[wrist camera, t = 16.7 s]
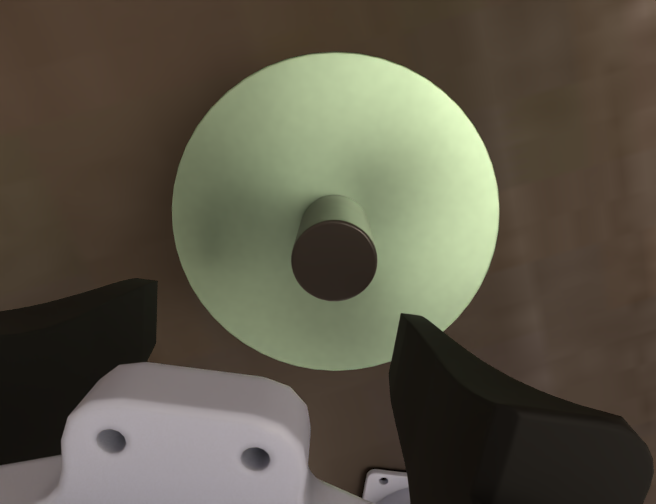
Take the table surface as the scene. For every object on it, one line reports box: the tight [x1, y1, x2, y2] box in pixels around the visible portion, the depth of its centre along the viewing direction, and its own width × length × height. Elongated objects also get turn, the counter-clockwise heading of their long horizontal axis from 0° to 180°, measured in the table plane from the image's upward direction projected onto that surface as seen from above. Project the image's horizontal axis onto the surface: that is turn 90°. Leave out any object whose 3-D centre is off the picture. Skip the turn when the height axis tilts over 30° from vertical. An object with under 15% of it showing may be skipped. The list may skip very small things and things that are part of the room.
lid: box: [172, 51, 500, 371], centre depth 15 cm, size 11×11×5 cm
